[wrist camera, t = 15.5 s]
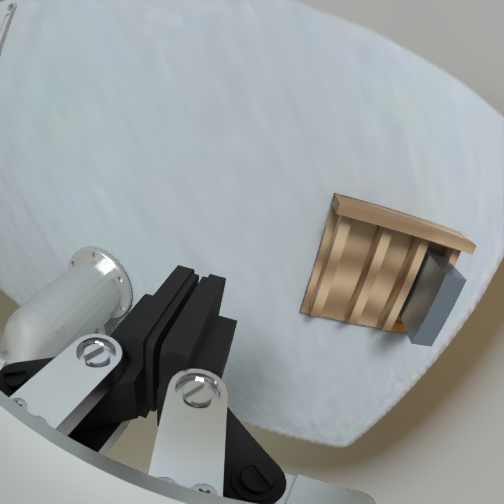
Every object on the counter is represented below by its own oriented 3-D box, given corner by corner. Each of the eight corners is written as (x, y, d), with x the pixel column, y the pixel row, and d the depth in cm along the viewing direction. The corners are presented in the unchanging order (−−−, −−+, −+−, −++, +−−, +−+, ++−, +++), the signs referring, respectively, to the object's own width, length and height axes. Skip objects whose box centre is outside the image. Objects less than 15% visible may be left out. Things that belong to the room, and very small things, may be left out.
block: (413, 309, 36) (431, 346, 29) (395, 306, 36) (411, 343, 29) (438, 251, 32) (466, 280, 25) (420, 245, 33) (446, 274, 25)
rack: (413, 331, 39) (422, 353, 34) (299, 309, 40) (299, 332, 35) (458, 231, 32) (476, 245, 27) (334, 192, 33) (339, 202, 29)
